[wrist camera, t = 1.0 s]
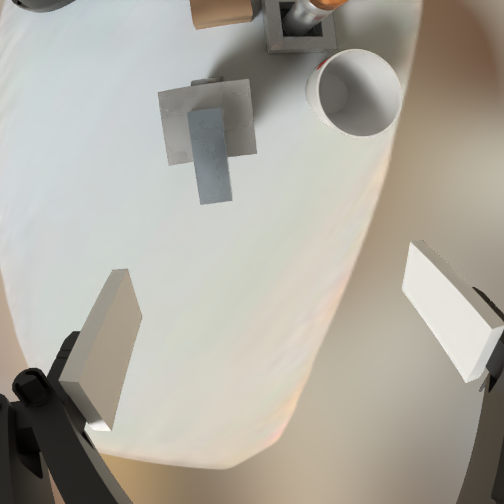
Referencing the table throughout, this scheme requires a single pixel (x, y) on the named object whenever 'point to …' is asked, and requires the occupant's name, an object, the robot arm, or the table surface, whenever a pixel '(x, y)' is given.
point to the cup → (355, 93)
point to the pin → (308, 15)
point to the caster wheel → (209, 131)
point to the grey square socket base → (279, 44)
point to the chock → (220, 12)
